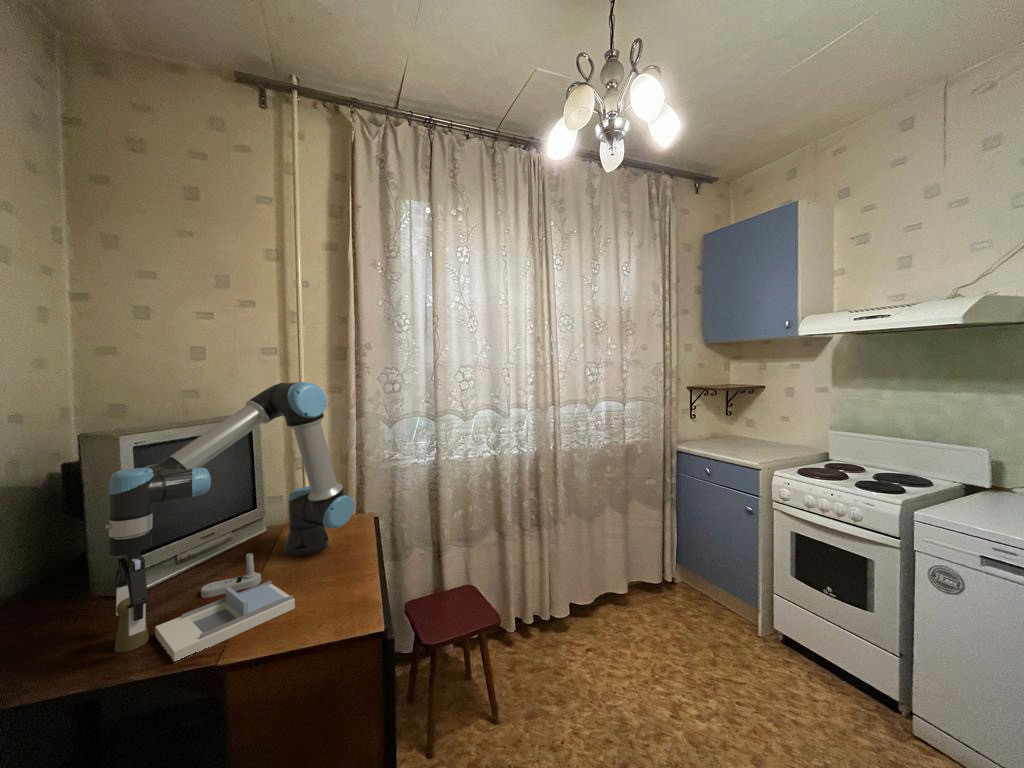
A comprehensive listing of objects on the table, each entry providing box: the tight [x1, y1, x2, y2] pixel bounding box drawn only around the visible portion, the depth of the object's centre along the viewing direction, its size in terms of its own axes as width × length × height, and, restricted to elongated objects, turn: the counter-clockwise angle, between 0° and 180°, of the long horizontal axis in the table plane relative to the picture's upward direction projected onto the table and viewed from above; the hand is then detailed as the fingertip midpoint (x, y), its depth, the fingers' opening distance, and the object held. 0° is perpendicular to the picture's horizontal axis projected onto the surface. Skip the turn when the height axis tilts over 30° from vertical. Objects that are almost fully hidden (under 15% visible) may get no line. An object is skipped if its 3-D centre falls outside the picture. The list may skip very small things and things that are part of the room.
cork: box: [113, 598, 150, 653], centre depth 94 cm, size 6×6×11 cm
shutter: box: [225, 584, 285, 616], centre depth 107 cm, size 10×12×4 cm
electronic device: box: [200, 552, 262, 599], centre depth 119 cm, size 5×10×15 cm
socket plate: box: [154, 580, 296, 663], centre depth 102 cm, size 26×16×3 cm, turn 144°
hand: (130, 622), depth 93 cm, fingers open, 13 cm apart
